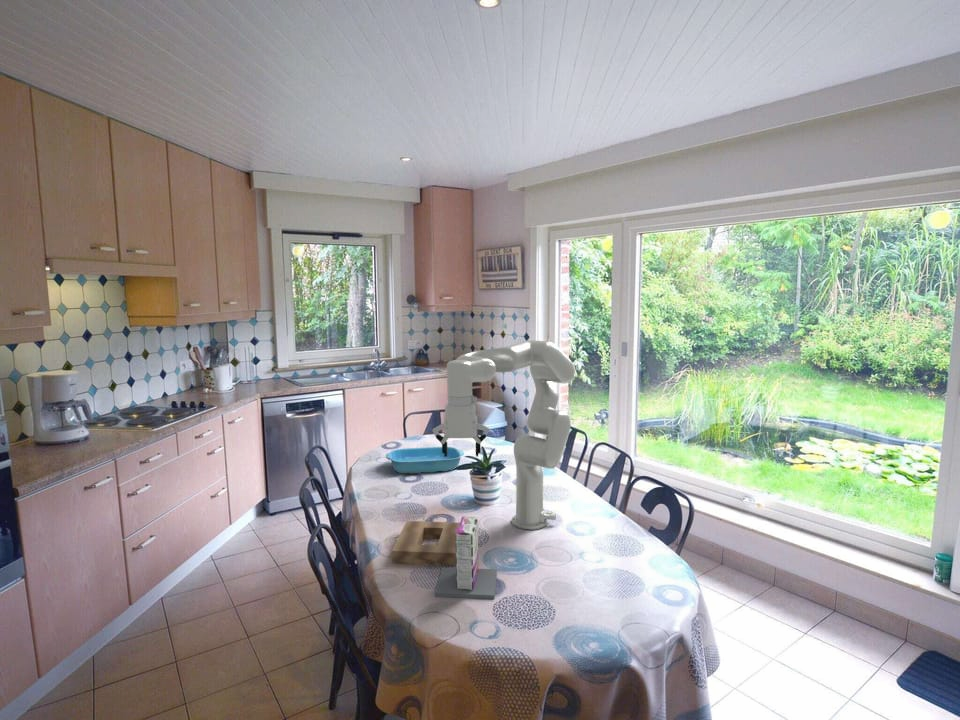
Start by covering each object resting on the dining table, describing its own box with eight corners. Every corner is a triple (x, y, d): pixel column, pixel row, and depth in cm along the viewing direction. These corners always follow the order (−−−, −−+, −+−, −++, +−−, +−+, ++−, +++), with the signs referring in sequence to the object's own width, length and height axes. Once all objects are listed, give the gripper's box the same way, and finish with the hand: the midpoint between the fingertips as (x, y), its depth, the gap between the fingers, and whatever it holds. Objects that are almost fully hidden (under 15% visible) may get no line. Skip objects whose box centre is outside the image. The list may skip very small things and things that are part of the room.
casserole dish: (459, 458, 273) (459, 444, 272) (468, 472, 251) (468, 457, 250) (384, 463, 264) (384, 448, 263) (387, 478, 243) (387, 462, 242)
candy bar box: (461, 569, 160) (461, 515, 158) (478, 570, 159) (478, 516, 157) (455, 590, 149) (454, 532, 147) (473, 591, 148) (473, 533, 146)
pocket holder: (464, 534, 186) (464, 522, 185) (457, 565, 164) (457, 553, 163) (406, 532, 187) (406, 520, 187) (391, 563, 165) (391, 550, 165)
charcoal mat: (496, 572, 160) (496, 569, 160) (494, 598, 146) (494, 595, 146) (442, 570, 161) (442, 567, 161) (435, 596, 147) (435, 592, 147)
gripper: (488, 397, 168) (489, 451, 171) (433, 398, 169) (435, 451, 172) (488, 403, 161) (489, 459, 163) (430, 403, 162) (432, 459, 164)
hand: (461, 455), depth 168 cm, fingers open, 9 cm apart
